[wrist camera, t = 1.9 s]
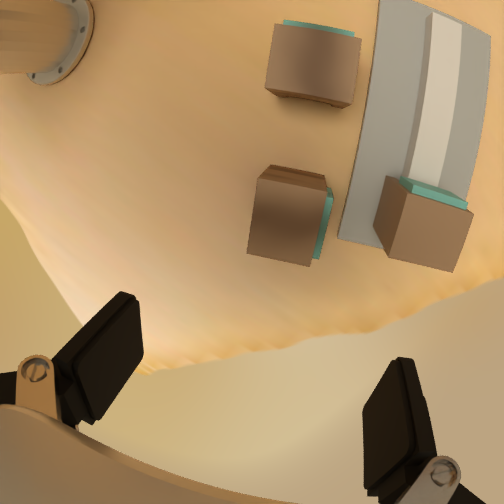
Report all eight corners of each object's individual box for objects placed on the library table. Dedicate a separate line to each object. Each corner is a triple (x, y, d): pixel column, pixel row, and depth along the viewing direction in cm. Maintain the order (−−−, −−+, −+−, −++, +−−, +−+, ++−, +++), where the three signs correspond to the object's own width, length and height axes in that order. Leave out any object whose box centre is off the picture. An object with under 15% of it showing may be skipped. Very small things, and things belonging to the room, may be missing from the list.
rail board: (336, 235, 29) (343, 272, 22) (379, -7, 18) (397, -42, 12) (441, 260, 28) (469, 299, 21) (487, 37, 17) (527, 23, 10)
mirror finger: (276, 95, 25) (264, 87, 19) (285, 40, 23) (275, 16, 16) (342, 108, 24) (352, 104, 18) (351, 52, 22) (362, 31, 16)
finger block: (316, 235, 30) (317, 268, 24) (261, 224, 30) (246, 253, 24) (330, 176, 27) (335, 193, 21) (270, 164, 28) (257, 178, 22)
